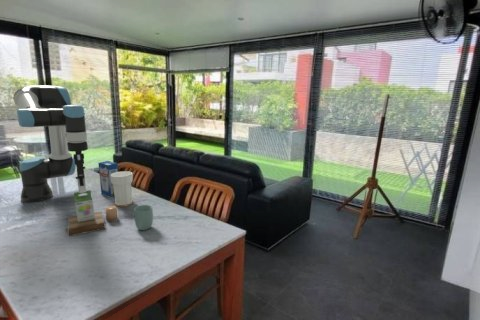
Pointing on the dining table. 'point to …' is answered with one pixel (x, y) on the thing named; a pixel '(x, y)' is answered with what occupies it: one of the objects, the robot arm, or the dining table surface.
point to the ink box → (84, 207)
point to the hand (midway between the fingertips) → (82, 187)
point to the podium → (85, 224)
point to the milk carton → (107, 177)
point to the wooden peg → (111, 213)
